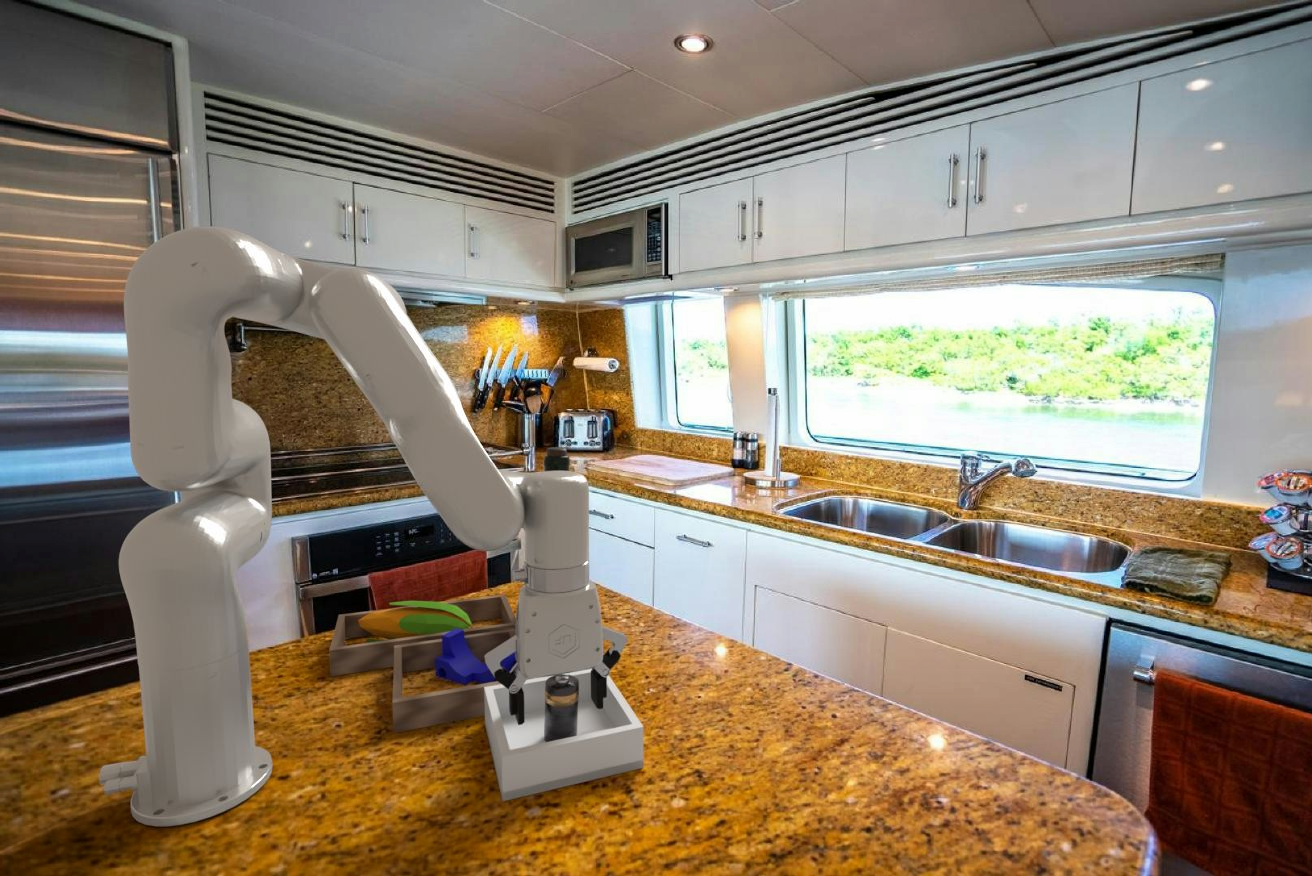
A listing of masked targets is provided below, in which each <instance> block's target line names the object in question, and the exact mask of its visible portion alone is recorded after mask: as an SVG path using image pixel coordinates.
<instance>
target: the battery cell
mask: <svg viewBox="0 0 1312 876" xmlns="http://www.w3.org/2000/svg"><path fill="white" fill-rule="evenodd" d="M578 699H579V680H578V679H577V678H576V677H574V676H571V675H565V674H561V675H555V676H552V677H550V678H548V679H547V680H546V685H545V721H544V740H545V742H550V741H555V740H559V739H564V738H569V737H573V736H577V721H578Z"/></svg>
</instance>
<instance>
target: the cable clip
mask: <svg viewBox="0 0 1312 876" xmlns="http://www.w3.org/2000/svg"><path fill="white" fill-rule="evenodd" d="M442 652H443V655H441V656H439V657H437V658H435V667H434V669H435V670H434V671H435V677H437V678H441V679H444V680H447V681H451V682H453V683H457V684H461V685H464V686H467V685H469V684H471V683H473V682H476V683H479V684H484V683H490V682H496V681H497V680H496V679H495V677H494V676H493V674H492V673H491V671H490V669H489V668H488V666H487V665H486V663H485V662H482V660H478V659H477V658H476V657H475V656H474V655H473V654H472V653H471V651H470V650H469V648H468V646H467V643H466V641H465V637H464V630H461V629H457V628H456V629H454V630H452V631H450V632H448V633H446V634H444V635H442ZM516 663H517V661H516V659H515V652H514V653H512V654H510V655H509V656H507V657H506V658H504V659H503V660H502V661H501V662H500V664H501V666H502V667H503V668H505V669H506V670H507V671H509V672H510V671H511V669H512V668H513V667H514V665H515V664H516Z"/></svg>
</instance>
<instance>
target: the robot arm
mask: <svg viewBox="0 0 1312 876" xmlns="http://www.w3.org/2000/svg"><path fill="white" fill-rule="evenodd" d="M139 255H140V256H139V257H138V258H137V259H136V260H135V261H134V263H133V265H132V267H131V268H130V270H129V273H128V276H127V279H126V283H125V287H124V294H123V313H124V316H123V317H124V318H123V319H124V325H125V336H126V349H127V389H128V392H127V395H128V396H127V397H128V414H129V415H128V416H129V417H128V418H129V441H130V446H129V447H130V456H131V462H132V465H133V467H134V470H135V472H136V473H137V475H138V476H139V477H140V479H142V481H144V482H145V483H146V484H148V485H149V486H151V487H153V488H155V489H157V490H160V491H165V492H166V491H167V492H173V493H174V492H175V493H179V492H180V501H178V502H176V503H173V504H170V505H168V506H165V507H163V508H160V509H158V510H156V511H155V512H153V513H151V514H149V515H147V516H146V517H144V518H143V519H142V520H140V521H139V522H137V524H136V525H135V526H134V527H133V528H132V529H131V531H130V532H128V534H127V536H126V537H125V539H124V541H123V543H122V545H121V548H120V550H119V551H120V552H119V555H118V556H119V557H118V570H119V571H118V572H119V575H120V581H121V583H122V587H123V591H124V592H125V595H126V599H127V602H128V605H129V609H130V613H131V617H132V621H133V622H132V623H133V630H134V635H135V636H134V637H135V645H136V656H137V664H138V673H139V684H140V696H141V707H142V718H143V719H142V721H143V731H144V743H145V753H146V754H145V755H141V756H139V757H138V758H137V760H132V761H127V762H126V761H122V762H116V763H111V764H106V765H103V766H102V767H101V769H100V771H99V775H98V781H99V783H98V784H99V785H100V786H104V787H103V794H104V795H106V796H107V795H112V794H116V793H122V792H124V791H128V790H132V791H133V793H132V796H131V798H130V813H131V815H132V817H133V819H135V821H137V822H138V823H141V824H142V825H145V826H152V827H173V826H175V827H176V826H182V825H186V824H191V823H196V822H198V821H199V822H200V821H202V820H206V819H209V818H212V817H214V816H217V815H218V814H221V813H224V812H225V811H228V810H230V809H232V808H234V807H236V806H238V805H239V804H241V803H243V802H244V801H246V800H247V799H249V798H250V797H251V796H253V795H254V794H256V793H257V791H259V790H260V789H261V788H262V787H263V786H264V785H265V784H266V782H267V781H268V780H269V778H271V774H272V771H273V757H272V755H271V753H270V752H269V751H268V750H266V749H265V748H264V747H260V746H258V745H256V741H255V739H256V738H255V725H254V724H255V723H254V710H253V709H254V708H253V693H252V680H251V677H252V676H251V662H250V660H251V659H250V648H249V647H250V646H249V645H250V644H249V638H248V637H249V635H248V626H247V625H248V621H247V617H246V616H247V615H246V610H245V606H244V601H243V599H242V596H241V594H240V591H239V587H238V584H237V583H238V582H237V579H236V577H237V576H236V572H237V571H239V569H240V568H241V567H243V566H244V565H246V564H247V563H248V562H250V561H251V560H253V559H254V558H255V557H256V556H257V555H258V554H259V553H260V552H261V551H262V550H263V549H264V547H265V545H266V544H267V542H268V540H269V538H270V534H271V530H272V522H273V521H272V518H273V517H272V515H273V505H272V503H273V502H272V500H273V499H272V461H271V460H272V459H271V455H272V454H271V442H270V437H269V433H268V430H267V427H266V425H265V423H264V421H263V419H262V418H261V416H260V415H259V413H258V412H256V411H255V410H254V409H253V408H252V407H251V406H249V405H248V404H246V403H244V402H242V401H240V400H238V399H235V398H233V389H232V388H233V387H232V370H233V369H232V368H233V367H232V357H231V353H230V348H229V346H228V341H227V339H226V335H225V324H226V322H227V321H228V320H229V319H231V318H236V319H241V320H246V321H252V322H257V323H261V324H265V325H269V326H273V327H277V328H282V329H285V330H289V331H292V332H296V333H300V334H303V335H308V336H310V337H314V338H318V339H322V340H325V342H326V343H327V345H328V346H329V347H330V349H331V350H332V351H333V353H334V354H335V356H336V357H337V358H338V360H339V361H340V363H341V364H342V365H343V367H344V368H345V370H347V372H348V374H349V375H350V377H351V378H352V379H353V381H354V382H355V384H356V385H357V386H358V388H359V389H360V391H362V393H363V395H364V397H365V398H366V399H367V401H368V402H369V403H370V405H371V406H372V407H373V409H374V410H375V412H376V413H377V415H378V416H379V418H380V419H381V420H382V422H383V424H384V426H385V428H386V430H387V432H388V435H389V436H390V438H391V441H392V442H393V443H394V445H395V446H396V448H397V450H398V451H399V453H400V455H401V458H402V459H403V460H404V463H405V464H406V466H407V468H408V470H409V471H410V473H411V474H412V477H413V478H414V480H415V482H416V483H417V485H418V486H419V488H420V489H421V491H422V493H423V495H425V497H426V498H427V500H428V501H429V502H430V504H431V505H432V506H433V507H434V509H435V511H436V512H437V514H438V515H439V516H440V518H441V519H442V520H443V522H444V523H445V524H446V526H447V528H449V530H450V531H451V533H452V534H453V535H454V536H455V537H456V538H457V539H458V540H459V541H460V542H462V543H463V544H464V545H466V546H467V547H469V548H471V549H474V550H477V551H481V552H492V551H497V550H500V549H503V548H505V547H506V546H509V544H511V543H512V542H514V541H515V539H516V538H517V537H518V535H519V533H520V532H521V530H522V529H523V530H524V547H525V548H524V552H525V558H524V559H525V560H524V561H523V563H524V564H523V565H522V567H521V568H519V569H514V570H512V579H513V582H520V583H523V585H521V587H520V589H519V595H518V598H517V599H518V600H517V605H516V614H515V615H516V616H515V617H516V625H515V636H513V637H512V638H510V639H509V640H507V641H505V642H504V643H502V644H501V645H499V646H498V647H496V648H495V649H493V650H491V651H490V652H488V653H487V654H486V655H485V656H484V661H485V662H484V663H485V664H486V665H487V666H488V668H489V669H490V671H491V673H492V674H493V676H494V677H495V679H496V680H497V681H498V682H499V683H501V684H502V685H503V686H505V687H506V688H507V689H509V710H510V715H511V716H512V715H515V717H516V720H517V723H518V725H522V724H523V723H524V692H523V689H522V685H523V684H524V683H525V681H526V680H527V679H528V678H541V677H548V676H554V675H560V674H565V673H571V672H577V671H582V670H588V669H592V670H591V699H592V701H593V702H594V704H595V706H596V708H598V709H603V698H606V697H607V677H608V676H610V675H611V670H612V669H613V668H614V667H615V666H616V664H617V663H618V662H619V661H620V659H621V654H622V653H623V651H624V649H625V646H626V645H627V643H628V637H627V635H625V633H624V632H621V631H619V630H617V629H616V630H615V629H614V628H610V627H608V626H604V625H603V622H602V613H601V612H602V611H601V603H600V599H599V593H598V588H597V585H596V582H593V581H592V580H590V488H589V482H588V480H587V477H586V476H585V475H583V473H580V472H578V471H577V472H576V471H571V470H569V471H544V470H543V471H539V472H523V471H521V472H520V471H512V470H505V469H498V467H497V466H496V465H495V463H494V462H493V460H492V459H491V458H490V456H489V455H488V452H487V451H486V449H485V448H484V447H483V445H482V444H481V442H480V440H479V439H478V436H477V435H476V433H475V432H474V430H473V429H472V426H471V425H470V422H469V420H468V418H467V415H466V414H465V411H464V408H463V405H462V401H461V399H460V396H459V393H458V390H457V388H456V386H455V384H454V382H453V380H452V379H451V377H450V376H449V374H448V373H447V371H446V369H444V367H443V365H442V364H441V363H440V361H439V360H438V358H437V357H436V356H435V354H434V353H433V352H432V350H431V349H430V346H429V345H428V344H427V343H426V341H425V340H424V339H423V337H422V335H421V333H420V332H419V331H418V330H417V328H416V326H415V325H414V323H413V321H412V320H411V319H410V316H409V315H408V314H407V308H406V306H405V302H404V300H403V299H402V298H403V297H401V295H400V294H399V293H398V291H397V290H396V289H395V288H394V287H393V286H392V285H391V284H389V283H388V282H386V281H385V280H384V279H382V278H381V277H379V276H378V275H376V274H375V273H373V272H371V271H369V270H366V269H361V268H358V267H357V268H356V267H345V268H337V269H335V268H331V267H328V266H326V265H321V264H318V263H315V262H313V261H309V260H306V259H302V258H299V257H297V256H293V255H290V254H288V253H284V252H281V251H279V250H277V249H276V248H273V247H271V246H270V245H267V244H265V243H264V242H262V241H260V240H258V239H256V238H255V237H253V236H251V235H248V234H246V233H243V232H241V231H237V230H234V229H231V228H226V227H221V226H212V225H211V226H210V225H209V226H207V225H205V226H193V227H192V226H191V227H188V228H187V227H186V228H183V229H181V230H177V231H174V232H171V233H170V234H167V235H165V236H163V237H162V238H160V239H158V240H157V241H155V242H153V243H152V244H151V245H149V246H148V247H147V248H146V249H145V250H144V251H143V252H142V253H141V254H139ZM604 640H606V641H608V642H611V645H610V647H609V648H608V649H607V651H606V652H605V653H604V651H605V650H604ZM514 652H515V659H516V661H517V663H516V664H515V665H514V667H513V668H512V669H511V671H510V672H509V671H507V670H506V669H505V668H503V667H502V666H501V664H500V662H501V661H502V660H503V659H504V658H506V657H507V656H509V655H510V654H512V653H514Z"/></svg>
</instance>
